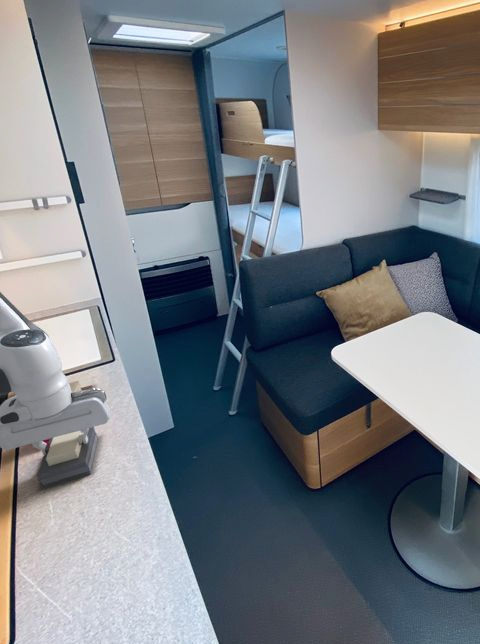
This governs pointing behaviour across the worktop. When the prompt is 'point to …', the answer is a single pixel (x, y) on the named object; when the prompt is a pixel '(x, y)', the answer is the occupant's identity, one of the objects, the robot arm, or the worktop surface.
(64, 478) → the grey pile
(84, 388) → the ivory pile
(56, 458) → the ivory book
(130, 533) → the worktop surface
